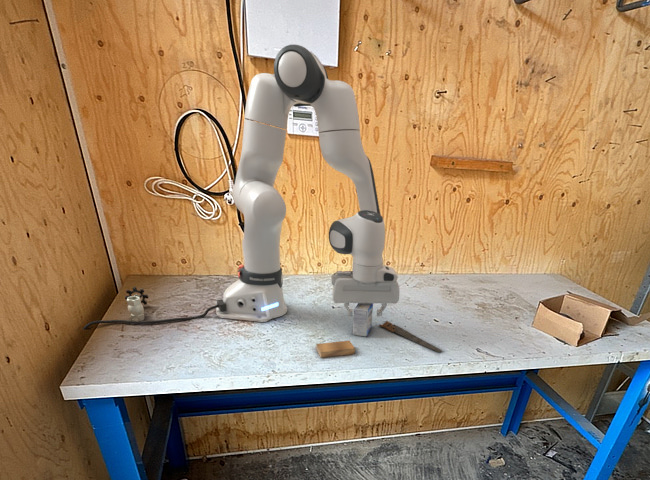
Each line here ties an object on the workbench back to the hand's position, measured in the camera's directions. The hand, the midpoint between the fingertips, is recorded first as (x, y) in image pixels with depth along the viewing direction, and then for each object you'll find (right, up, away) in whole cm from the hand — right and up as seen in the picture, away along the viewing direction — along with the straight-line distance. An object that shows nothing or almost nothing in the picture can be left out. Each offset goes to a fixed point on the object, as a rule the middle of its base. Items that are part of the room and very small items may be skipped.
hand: (364, 315), depth 134 cm
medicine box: (-1, -5, +2) cm, 5 cm away
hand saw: (+13, -7, +1) cm, 15 cm away
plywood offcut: (-8, -12, -11) cm, 18 cm away
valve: (-70, 0, 0) cm, 70 cm away
